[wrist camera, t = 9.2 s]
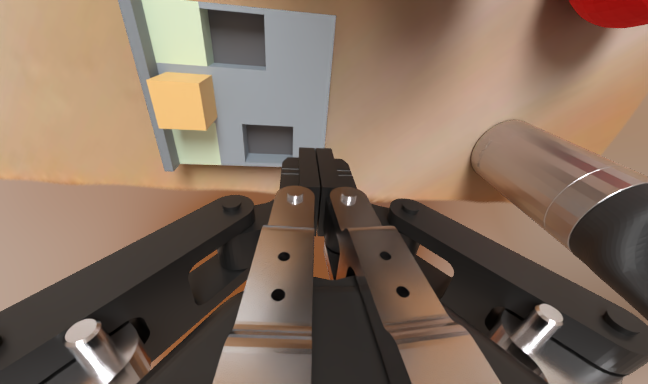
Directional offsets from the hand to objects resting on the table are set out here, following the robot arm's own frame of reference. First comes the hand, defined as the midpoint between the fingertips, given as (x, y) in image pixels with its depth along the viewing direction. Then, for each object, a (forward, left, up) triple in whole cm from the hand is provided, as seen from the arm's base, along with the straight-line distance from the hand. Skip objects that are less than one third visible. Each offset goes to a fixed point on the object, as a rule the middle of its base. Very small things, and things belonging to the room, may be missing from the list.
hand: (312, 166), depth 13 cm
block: (+12, +2, -20) cm, 23 cm away
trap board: (+7, +2, -23) cm, 24 cm away
